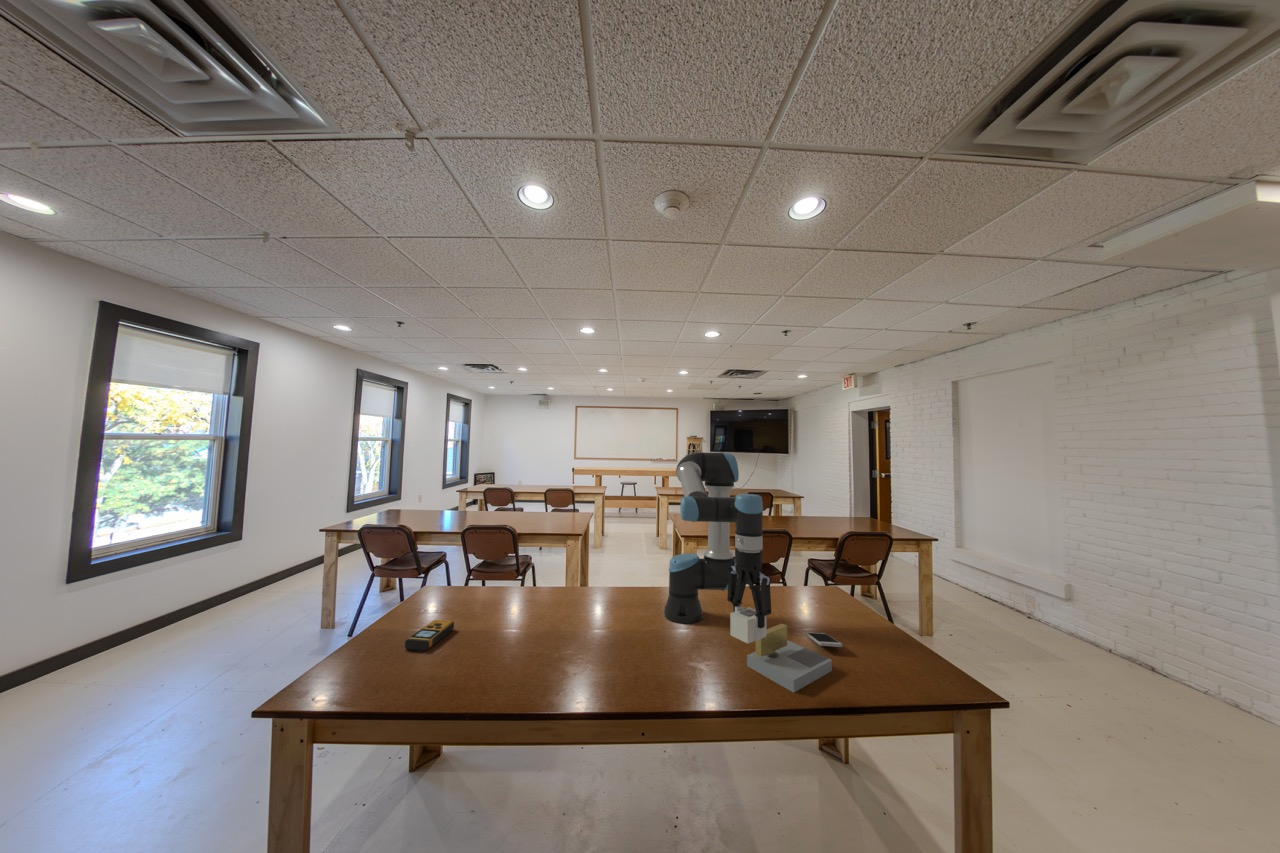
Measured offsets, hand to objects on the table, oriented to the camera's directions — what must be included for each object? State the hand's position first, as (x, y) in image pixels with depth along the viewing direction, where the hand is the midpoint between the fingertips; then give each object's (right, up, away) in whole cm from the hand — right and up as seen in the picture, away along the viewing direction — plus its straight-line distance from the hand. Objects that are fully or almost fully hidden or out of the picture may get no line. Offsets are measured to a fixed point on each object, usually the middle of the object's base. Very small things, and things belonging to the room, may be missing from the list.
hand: (748, 634), depth 110 cm
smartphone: (+32, -16, +19) cm, 41 cm away
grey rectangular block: (0, 0, 0) cm, 0 cm away
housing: (+15, -16, +10) cm, 24 cm away
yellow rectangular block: (+11, -12, +12) cm, 20 cm away
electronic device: (-101, -16, +30) cm, 106 cm away
